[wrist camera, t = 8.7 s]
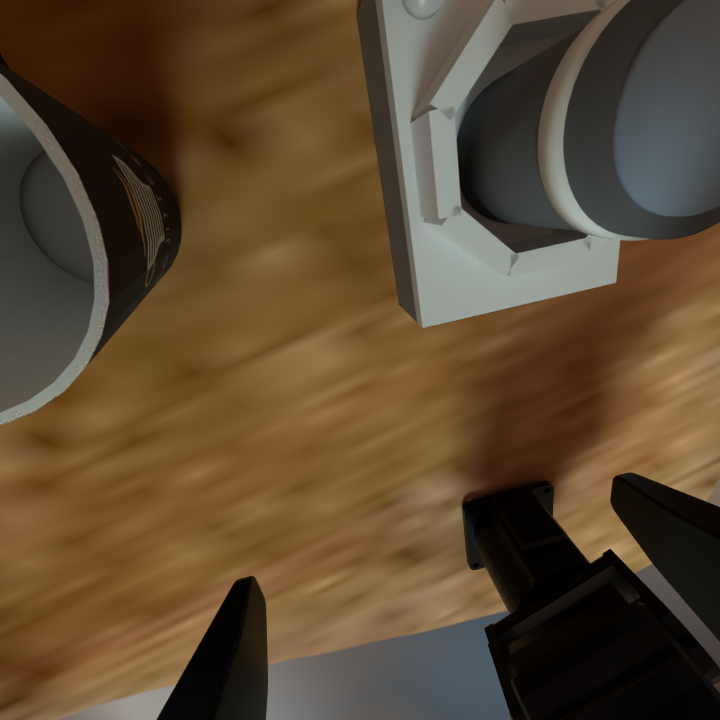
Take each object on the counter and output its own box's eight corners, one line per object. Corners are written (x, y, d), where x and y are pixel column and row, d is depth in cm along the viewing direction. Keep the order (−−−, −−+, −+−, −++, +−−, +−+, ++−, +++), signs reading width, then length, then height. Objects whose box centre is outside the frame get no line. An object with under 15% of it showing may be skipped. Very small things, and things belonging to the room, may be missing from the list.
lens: (609, 105, 14) (889, 20, 7) (540, 244, 16) (718, 275, 9) (491, 37, 12) (706, -144, 6) (429, 197, 14) (544, 194, 8)
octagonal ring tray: (558, 268, 20) (655, 292, 15) (399, 304, 20) (438, 343, 14) (568, -21, 16) (717, -142, 10) (356, 15, 15) (392, -93, 9)
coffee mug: (186, 337, 19) (82, 466, 10) (-22, 279, 16) (-420, 378, 7) (247, 77, 15) (174, -111, 6) (-9, -46, 13) (-764, -659, 4)
